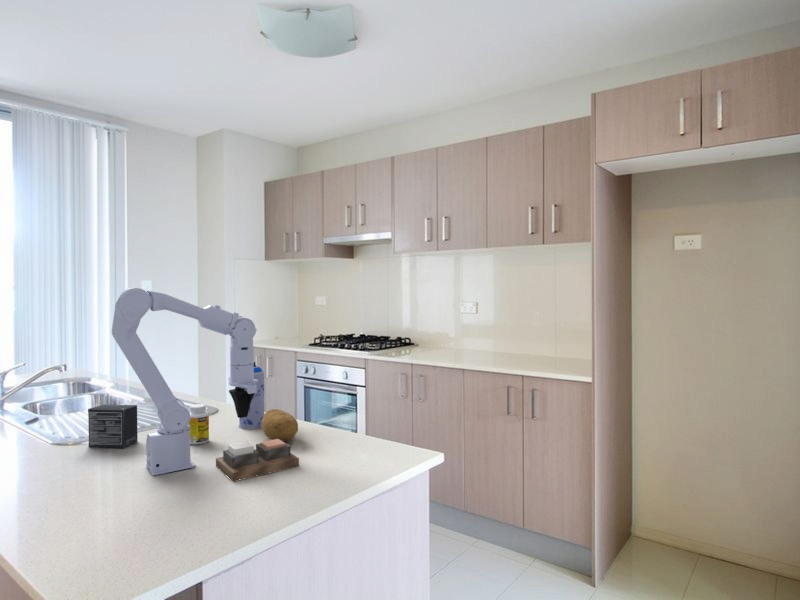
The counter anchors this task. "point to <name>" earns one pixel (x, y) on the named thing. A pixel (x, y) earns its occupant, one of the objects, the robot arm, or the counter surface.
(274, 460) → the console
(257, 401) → the aerosol can
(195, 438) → the supplement bottle
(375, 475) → the counter surface
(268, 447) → the terracotta key
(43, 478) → the counter surface
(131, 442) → the small box
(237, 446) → the cream key
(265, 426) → the potato
